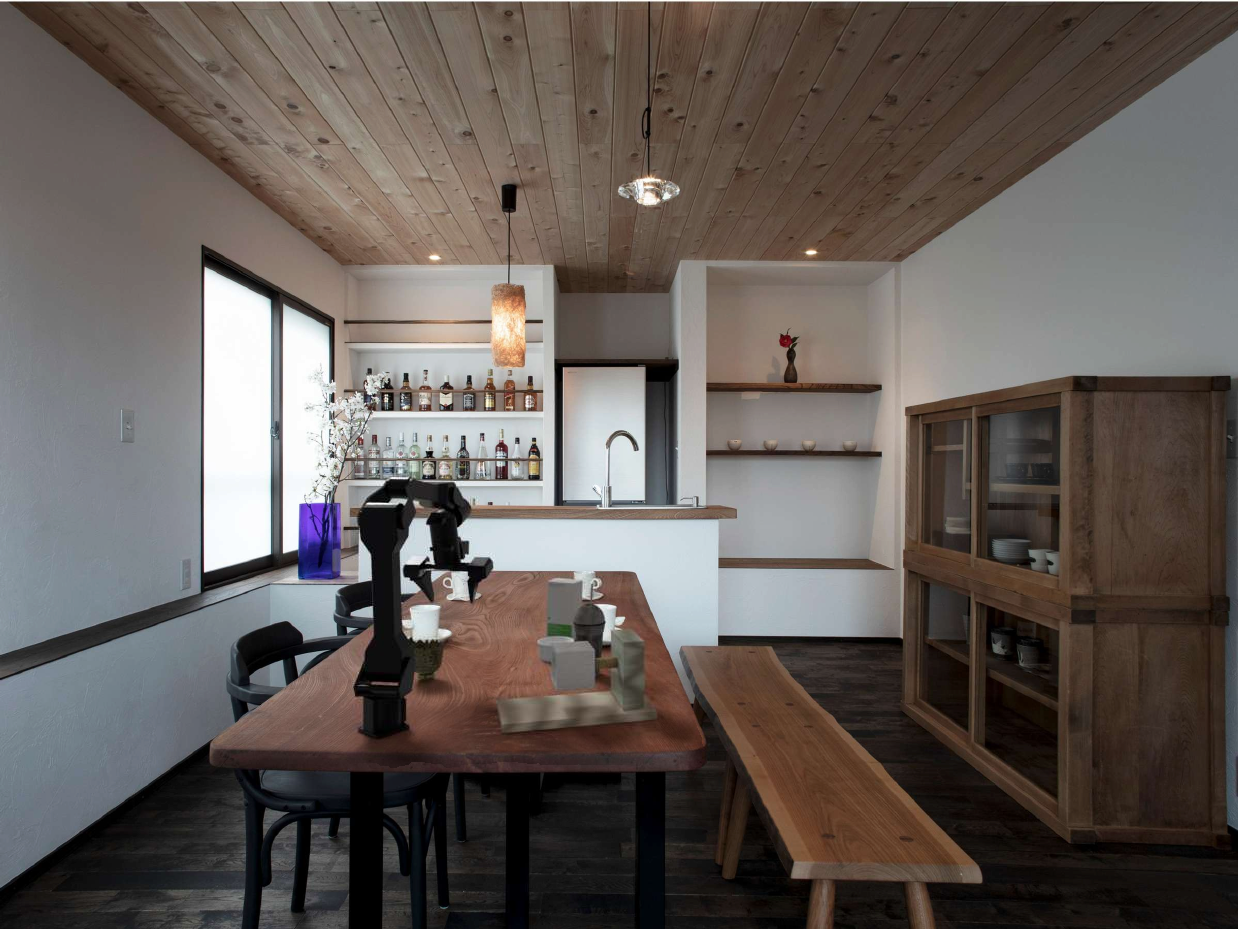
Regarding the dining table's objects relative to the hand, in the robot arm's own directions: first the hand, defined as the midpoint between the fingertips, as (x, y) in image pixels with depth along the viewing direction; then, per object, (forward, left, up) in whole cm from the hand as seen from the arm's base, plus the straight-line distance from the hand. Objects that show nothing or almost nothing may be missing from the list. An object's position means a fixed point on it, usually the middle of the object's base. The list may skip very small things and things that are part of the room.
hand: (452, 602), depth 153 cm
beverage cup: (+19, -24, -16) cm, 34 cm away
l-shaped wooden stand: (-1, -38, -16) cm, 41 cm away
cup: (-6, +1, -16) cm, 17 cm away
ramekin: (+24, -9, -16) cm, 30 cm away
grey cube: (-2, -37, -10) cm, 39 cm away
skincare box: (+40, +3, -16) cm, 43 cm away
